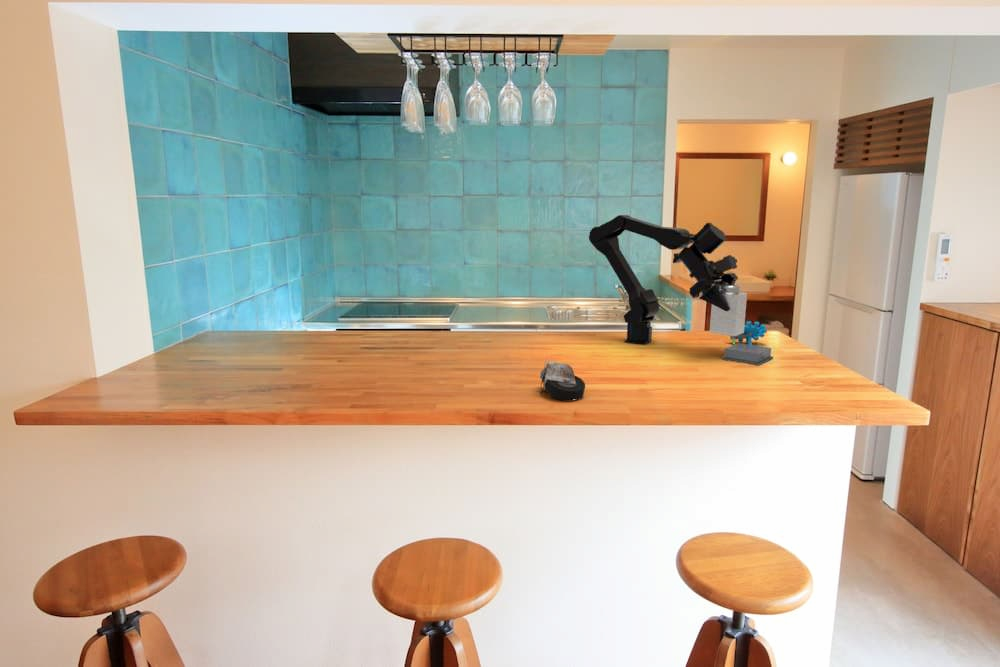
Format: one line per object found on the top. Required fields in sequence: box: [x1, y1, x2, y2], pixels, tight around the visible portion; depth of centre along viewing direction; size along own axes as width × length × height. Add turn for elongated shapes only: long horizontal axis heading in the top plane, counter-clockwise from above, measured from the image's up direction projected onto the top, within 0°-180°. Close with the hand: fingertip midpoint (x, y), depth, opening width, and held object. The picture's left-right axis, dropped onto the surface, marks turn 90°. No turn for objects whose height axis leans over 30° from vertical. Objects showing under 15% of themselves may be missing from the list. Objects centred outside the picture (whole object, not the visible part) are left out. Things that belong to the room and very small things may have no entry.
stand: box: [721, 342, 774, 366], centre depth 173 cm, size 10×10×3 cm
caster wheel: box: [539, 355, 586, 401], centre depth 142 cm, size 7×11×10 cm
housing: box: [709, 284, 748, 337], centre depth 174 cm, size 7×6×13 cm
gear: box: [727, 320, 767, 345], centre depth 190 cm, size 11×6×10 cm
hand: (733, 309), depth 173 cm, fingers closed on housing, 6 cm apart
